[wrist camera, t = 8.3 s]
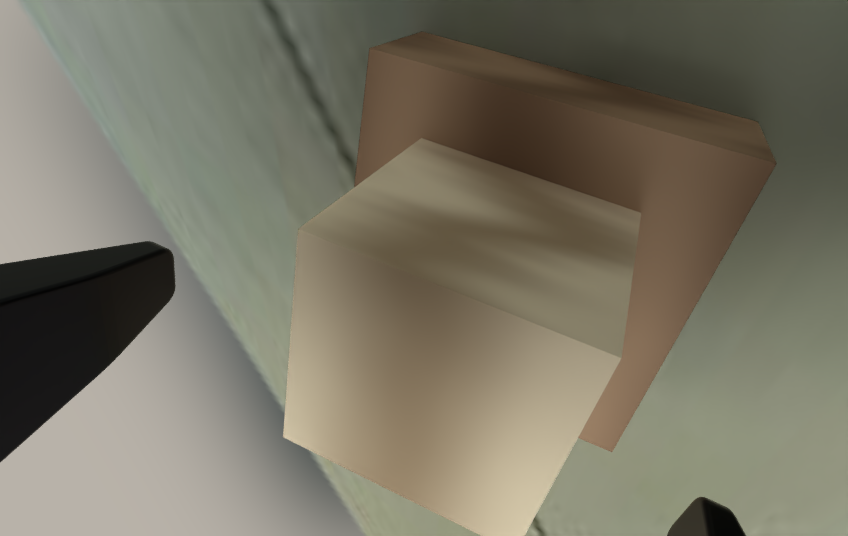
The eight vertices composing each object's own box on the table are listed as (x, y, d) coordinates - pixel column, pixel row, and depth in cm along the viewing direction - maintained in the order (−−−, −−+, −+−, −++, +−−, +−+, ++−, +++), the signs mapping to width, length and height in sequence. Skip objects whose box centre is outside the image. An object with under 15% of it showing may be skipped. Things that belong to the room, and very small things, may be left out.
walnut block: (756, 118, 15) (776, 163, 12) (622, 374, 21) (612, 452, 17) (426, 30, 17) (369, 47, 14) (385, 281, 23) (337, 335, 20)
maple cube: (641, 213, 14) (621, 358, 9) (561, 380, 17) (514, 552, 12) (421, 138, 15) (297, 229, 10) (387, 307, 18) (283, 437, 13)
